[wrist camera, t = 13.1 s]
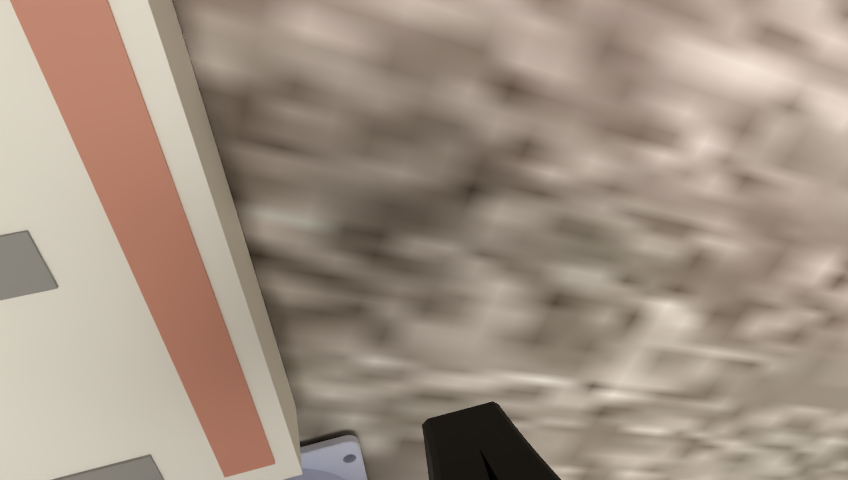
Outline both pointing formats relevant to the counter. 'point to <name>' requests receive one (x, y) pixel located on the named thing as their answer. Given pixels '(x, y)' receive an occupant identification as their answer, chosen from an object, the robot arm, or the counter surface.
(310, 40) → the counter surface
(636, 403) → the counter surface
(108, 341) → the breaker panel
